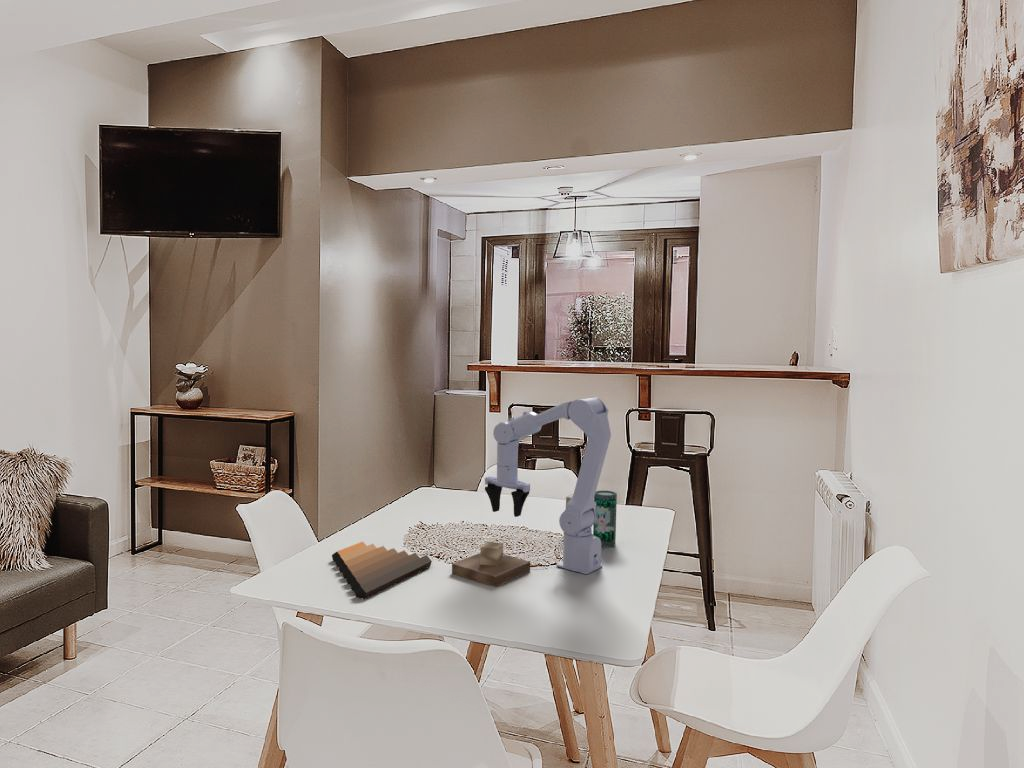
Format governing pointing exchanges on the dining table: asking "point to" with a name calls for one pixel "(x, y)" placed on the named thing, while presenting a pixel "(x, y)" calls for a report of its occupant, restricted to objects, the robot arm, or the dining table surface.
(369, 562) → the pan flute
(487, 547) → the maple block
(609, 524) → the can
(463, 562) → the walnut base
